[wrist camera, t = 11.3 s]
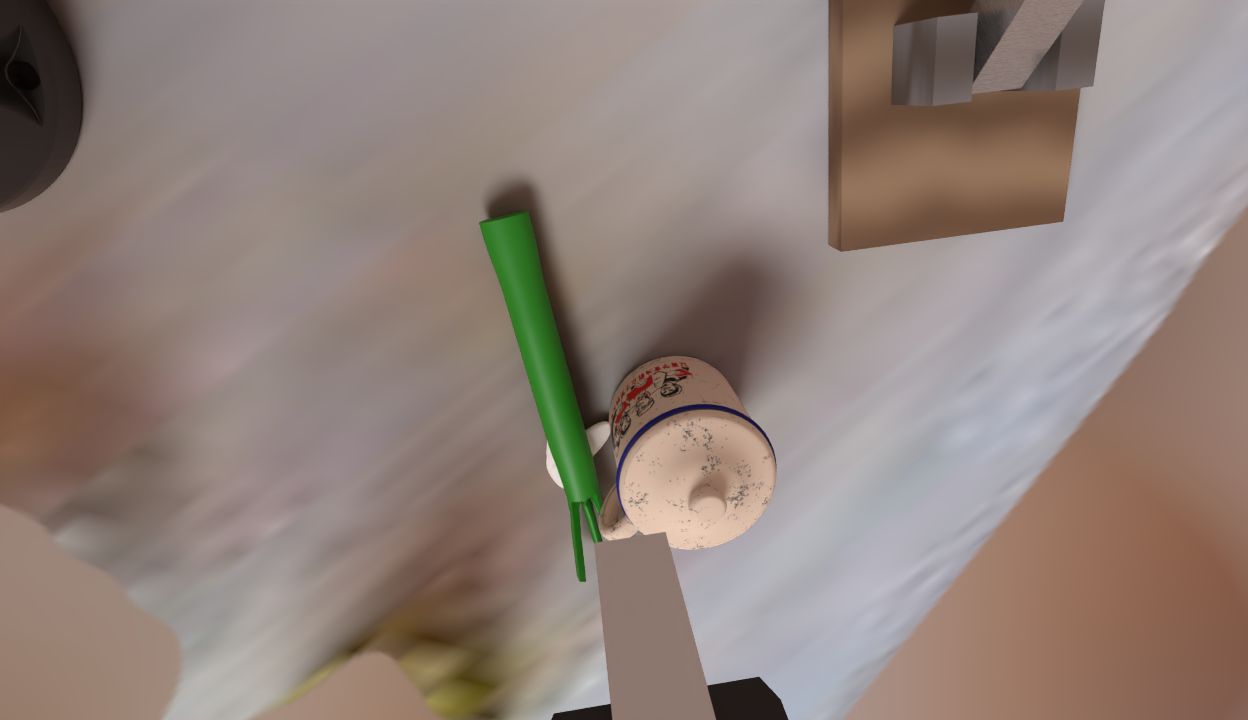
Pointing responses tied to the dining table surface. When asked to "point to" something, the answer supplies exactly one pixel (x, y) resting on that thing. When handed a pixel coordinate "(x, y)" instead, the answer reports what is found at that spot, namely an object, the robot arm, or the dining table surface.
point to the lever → (1015, 39)
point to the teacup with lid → (685, 457)
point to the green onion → (547, 371)
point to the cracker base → (944, 125)
